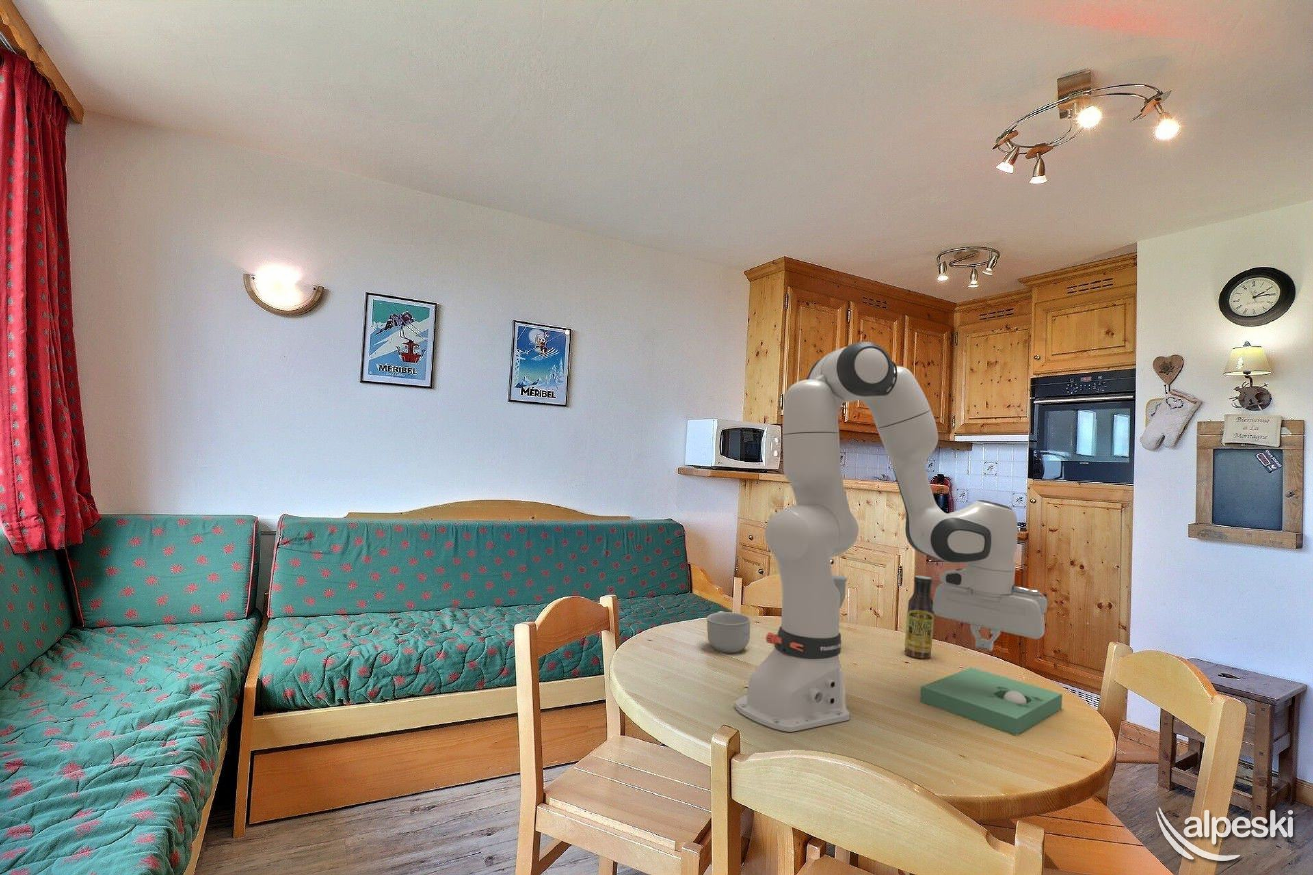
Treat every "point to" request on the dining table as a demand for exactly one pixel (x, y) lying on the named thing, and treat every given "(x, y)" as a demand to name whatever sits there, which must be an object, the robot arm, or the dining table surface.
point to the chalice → (840, 586)
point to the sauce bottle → (920, 620)
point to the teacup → (728, 631)
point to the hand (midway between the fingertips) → (983, 648)
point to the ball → (1015, 697)
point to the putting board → (991, 700)
